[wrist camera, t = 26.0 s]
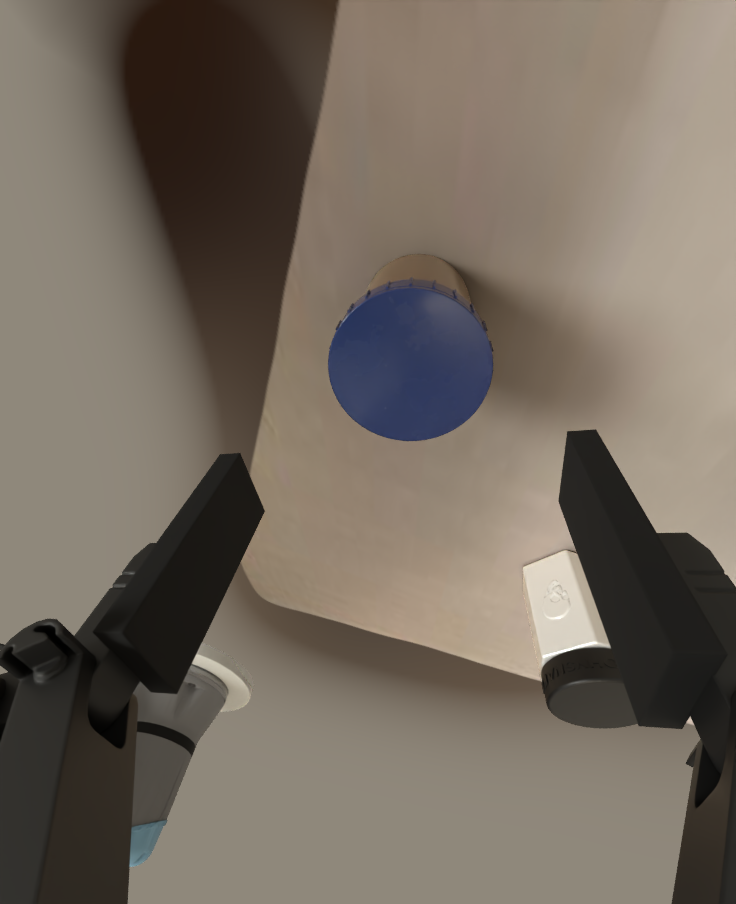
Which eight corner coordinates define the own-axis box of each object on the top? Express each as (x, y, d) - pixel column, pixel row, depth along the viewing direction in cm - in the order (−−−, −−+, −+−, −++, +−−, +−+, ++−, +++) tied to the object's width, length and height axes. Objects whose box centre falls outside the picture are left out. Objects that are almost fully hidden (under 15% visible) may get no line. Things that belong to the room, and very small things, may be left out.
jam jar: (372, 365, 31) (352, 434, 23) (354, 263, 27) (322, 306, 19) (471, 355, 29) (484, 425, 22) (468, 245, 25) (482, 283, 18)
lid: (350, 430, 24) (344, 446, 23) (317, 290, 20) (309, 300, 18) (490, 420, 23) (494, 436, 21) (490, 264, 18) (495, 273, 17)
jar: (587, 537, 38) (639, 668, 28) (626, 584, 41) (686, 717, 31) (501, 572, 42) (521, 696, 32) (543, 612, 45) (573, 736, 35)
